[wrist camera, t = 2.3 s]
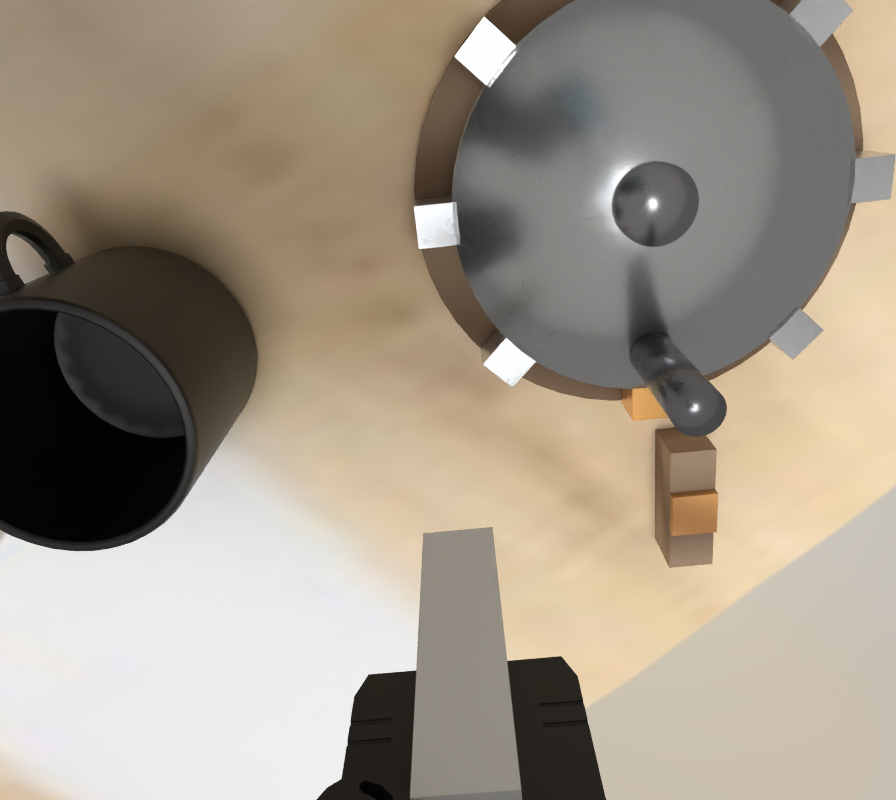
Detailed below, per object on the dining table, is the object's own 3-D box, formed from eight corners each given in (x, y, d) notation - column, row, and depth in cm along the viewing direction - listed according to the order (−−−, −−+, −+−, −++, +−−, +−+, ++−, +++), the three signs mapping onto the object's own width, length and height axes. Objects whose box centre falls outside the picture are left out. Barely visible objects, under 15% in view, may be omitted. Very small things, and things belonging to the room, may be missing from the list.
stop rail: (655, 430, 35) (673, 457, 32) (698, 426, 35) (719, 453, 32) (655, 538, 37) (671, 572, 34) (695, 534, 37) (715, 568, 34)
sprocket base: (387, -29, 28) (386, -32, 27) (876, -88, 27) (888, -93, 26) (439, 412, 34) (439, 419, 34) (831, 373, 34) (840, 379, 33)
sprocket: (388, -32, 26) (366, -81, 19) (892, -92, 26) (1071, -168, 18) (441, 420, 33) (440, 512, 26) (842, 380, 33) (960, 464, 25)
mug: (158, 149, 30) (47, 169, 22) (295, 400, 34) (247, 499, 26) (-34, 240, 31) (-208, 293, 23) (121, 472, 36) (21, 587, 27)
